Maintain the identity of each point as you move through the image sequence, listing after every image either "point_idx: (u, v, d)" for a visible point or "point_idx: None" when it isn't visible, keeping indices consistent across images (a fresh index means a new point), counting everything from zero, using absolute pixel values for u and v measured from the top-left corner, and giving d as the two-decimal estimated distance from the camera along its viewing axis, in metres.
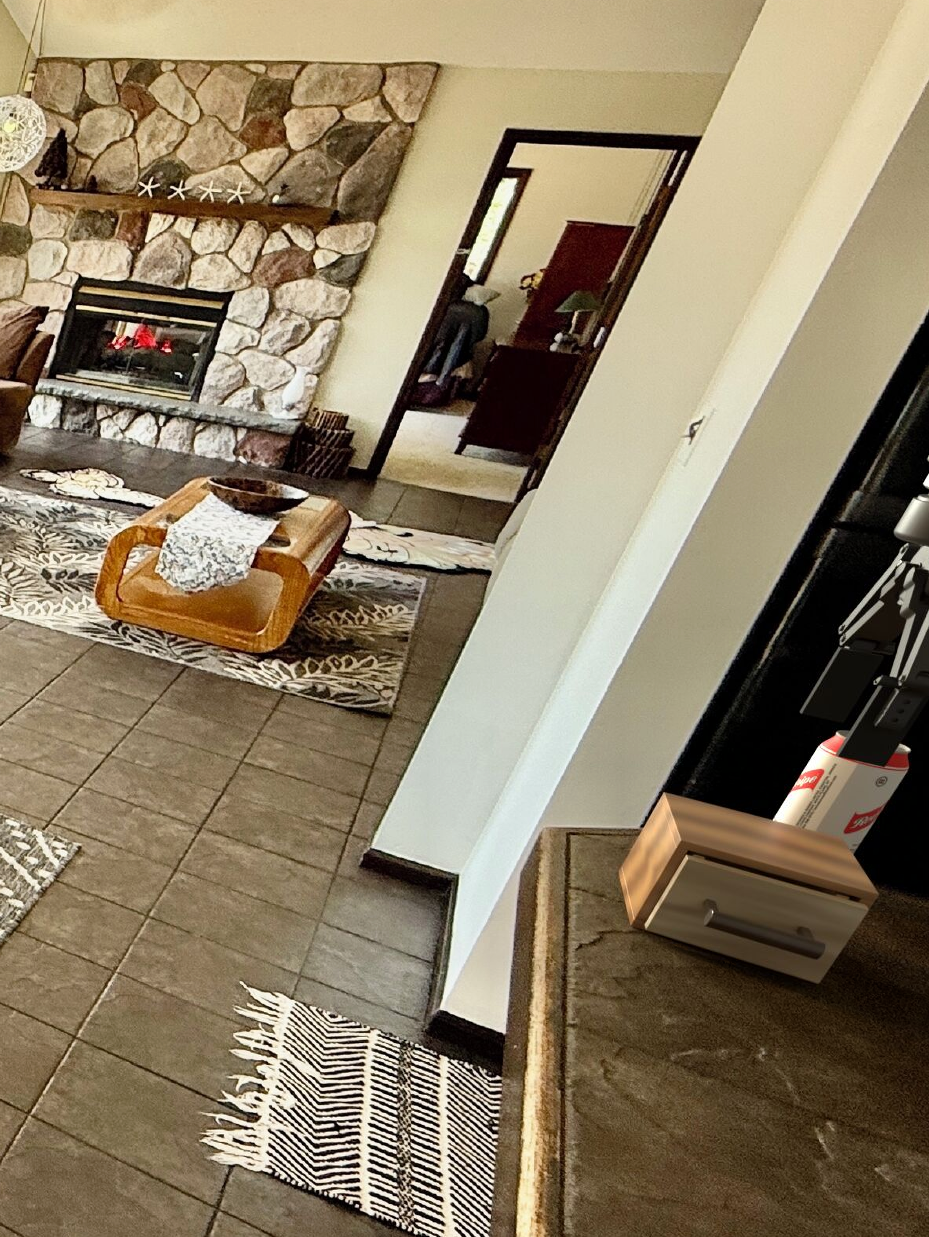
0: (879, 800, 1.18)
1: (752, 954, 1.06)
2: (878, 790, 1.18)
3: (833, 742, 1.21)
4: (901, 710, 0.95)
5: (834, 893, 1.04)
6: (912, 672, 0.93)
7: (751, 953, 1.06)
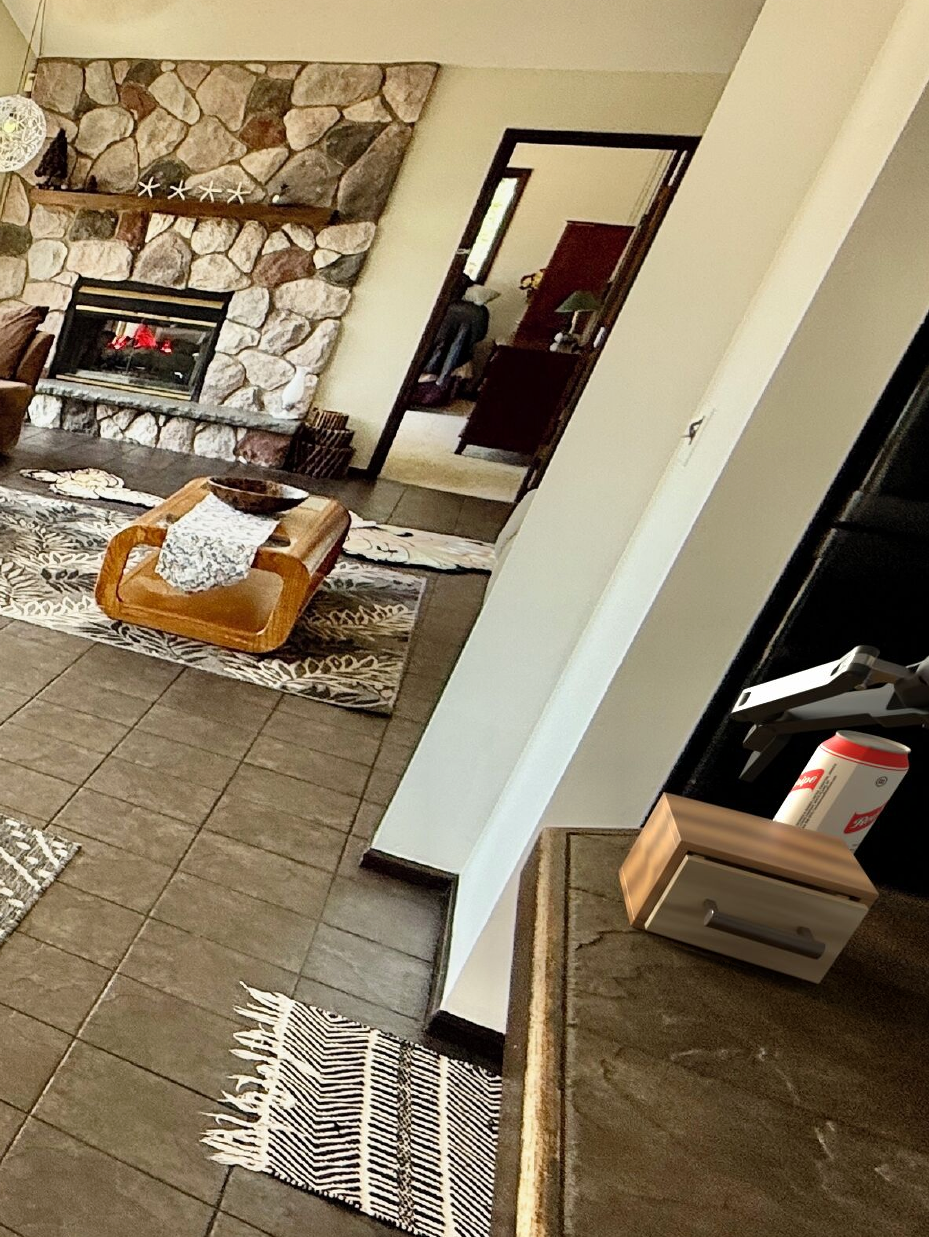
0: (879, 800, 1.18)
1: (752, 954, 1.06)
2: (878, 790, 1.18)
3: (833, 742, 1.21)
4: None
5: (834, 893, 1.04)
6: None
7: (751, 953, 1.06)
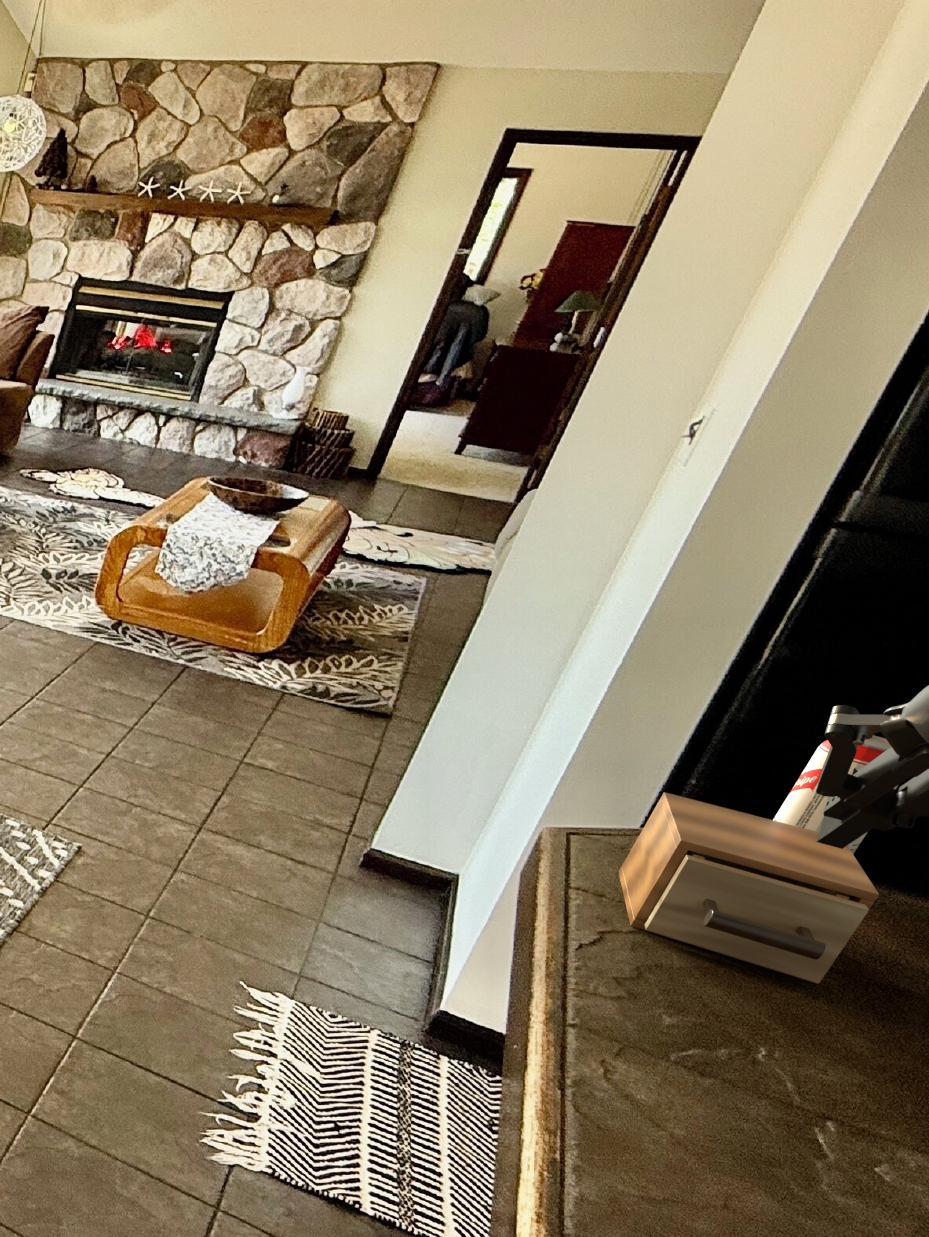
0: None
1: (752, 954, 1.06)
2: None
3: None
4: None
5: (834, 893, 1.04)
6: None
7: (751, 953, 1.06)
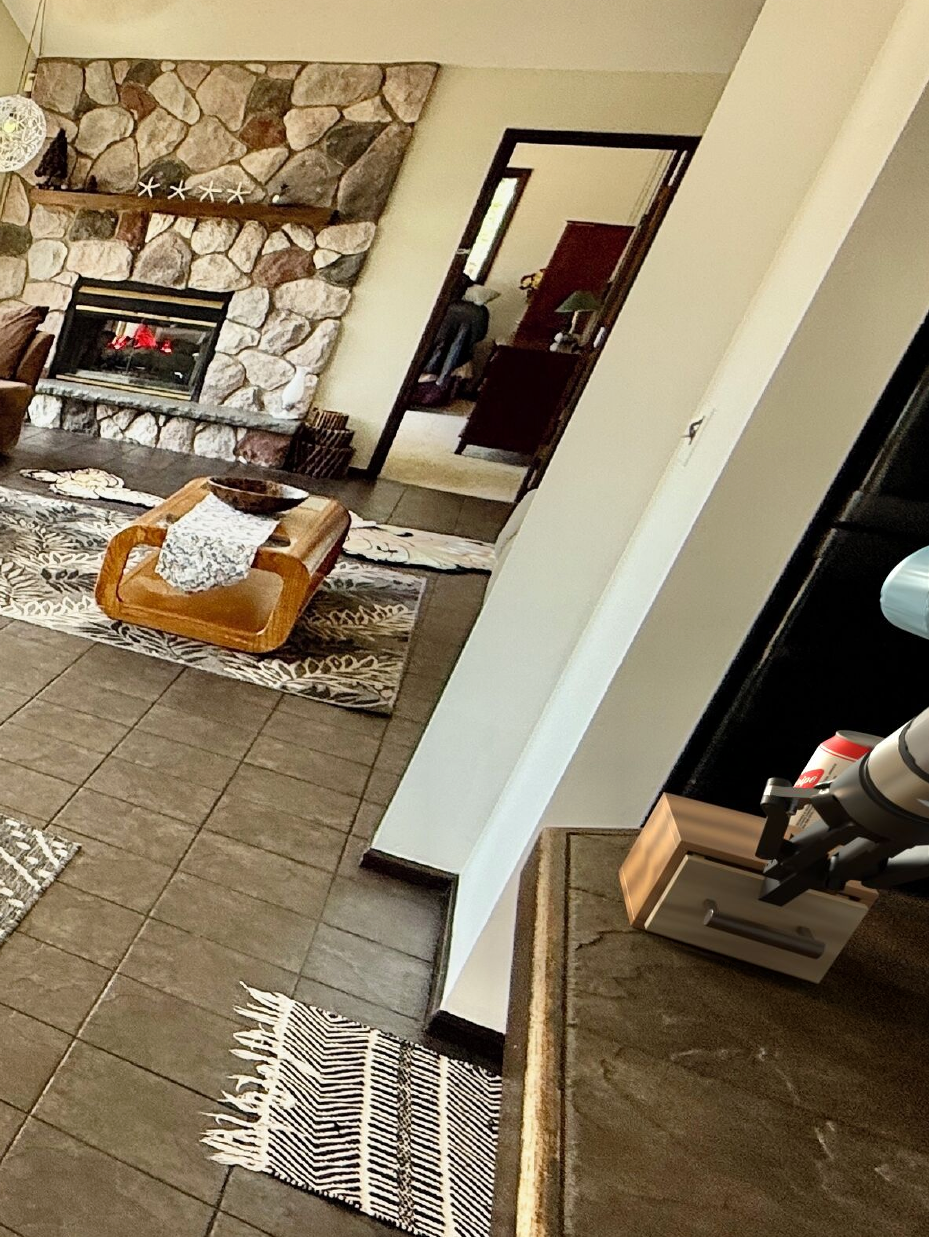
0: None
1: (752, 954, 1.06)
2: None
3: (833, 742, 1.21)
4: None
5: (834, 893, 1.04)
6: None
7: (751, 953, 1.06)
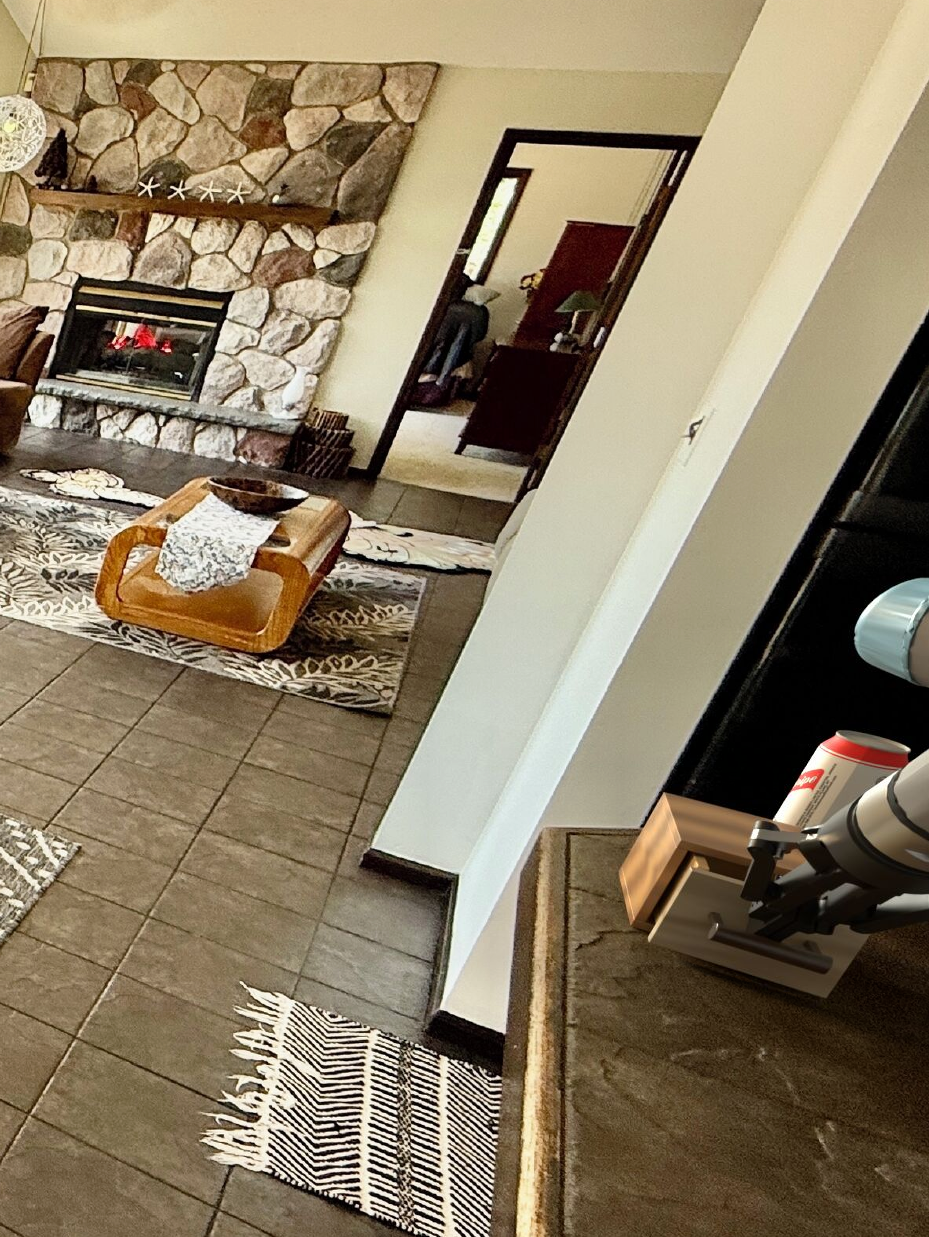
0: None
1: (758, 968, 1.04)
2: None
3: (833, 742, 1.21)
4: None
5: None
6: (876, 931, 0.94)
7: (757, 967, 1.04)
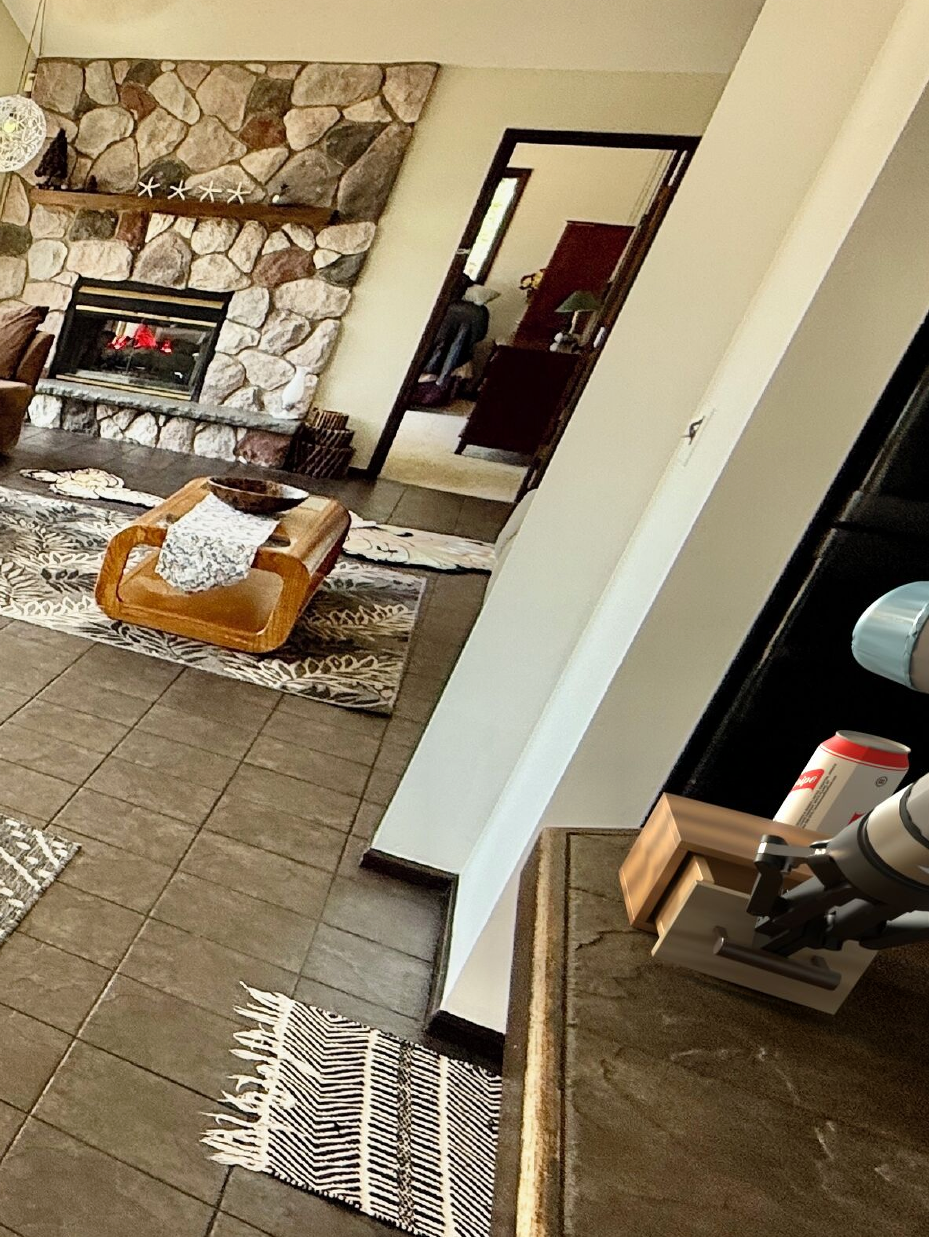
0: (879, 800, 1.18)
1: (764, 983, 1.02)
2: (878, 790, 1.18)
3: (833, 742, 1.21)
4: None
5: None
6: None
7: (763, 982, 1.02)
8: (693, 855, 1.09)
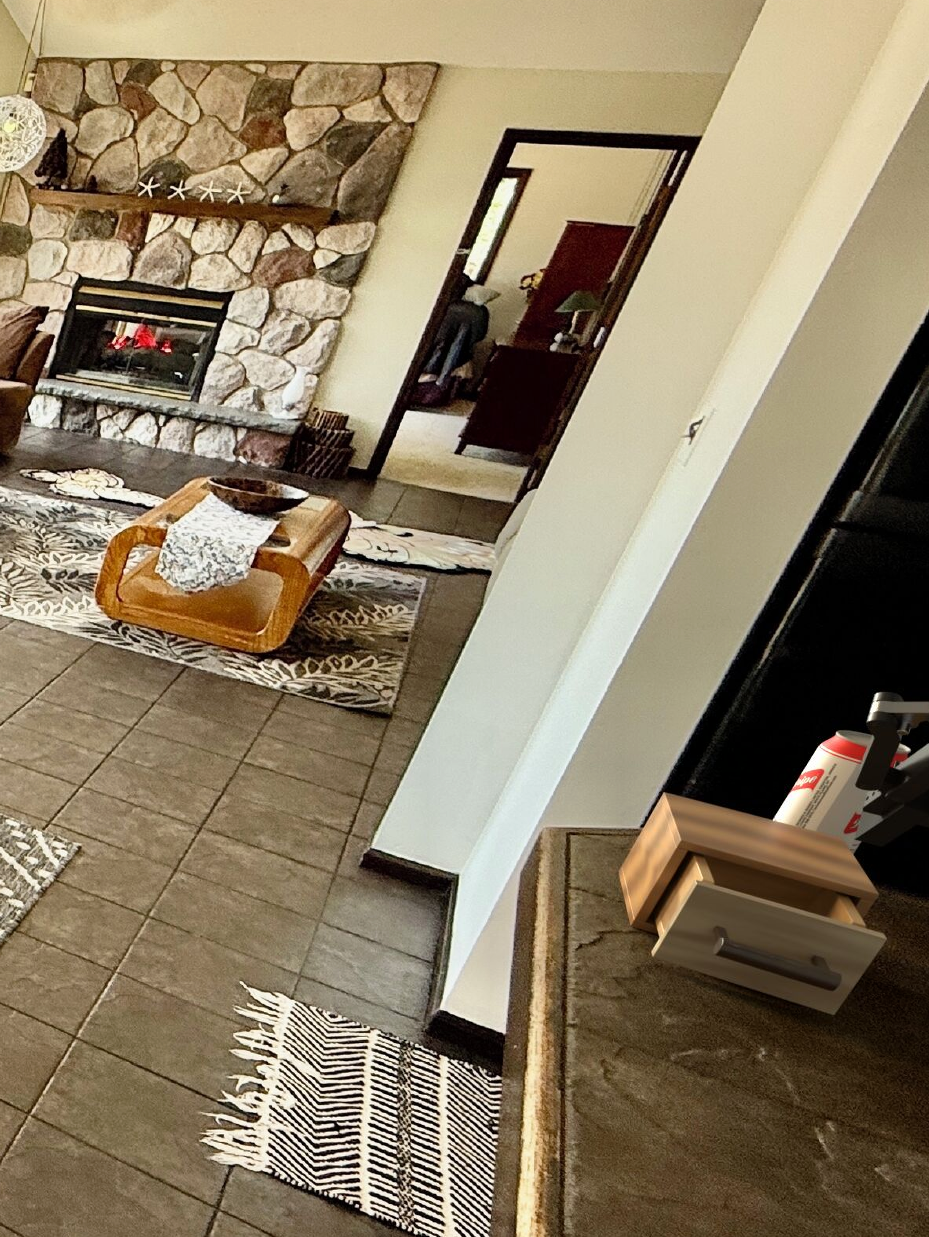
0: None
1: (764, 984, 1.02)
2: None
3: (833, 742, 1.21)
4: None
5: (850, 921, 0.99)
6: None
7: (763, 983, 1.02)
8: (693, 855, 1.09)
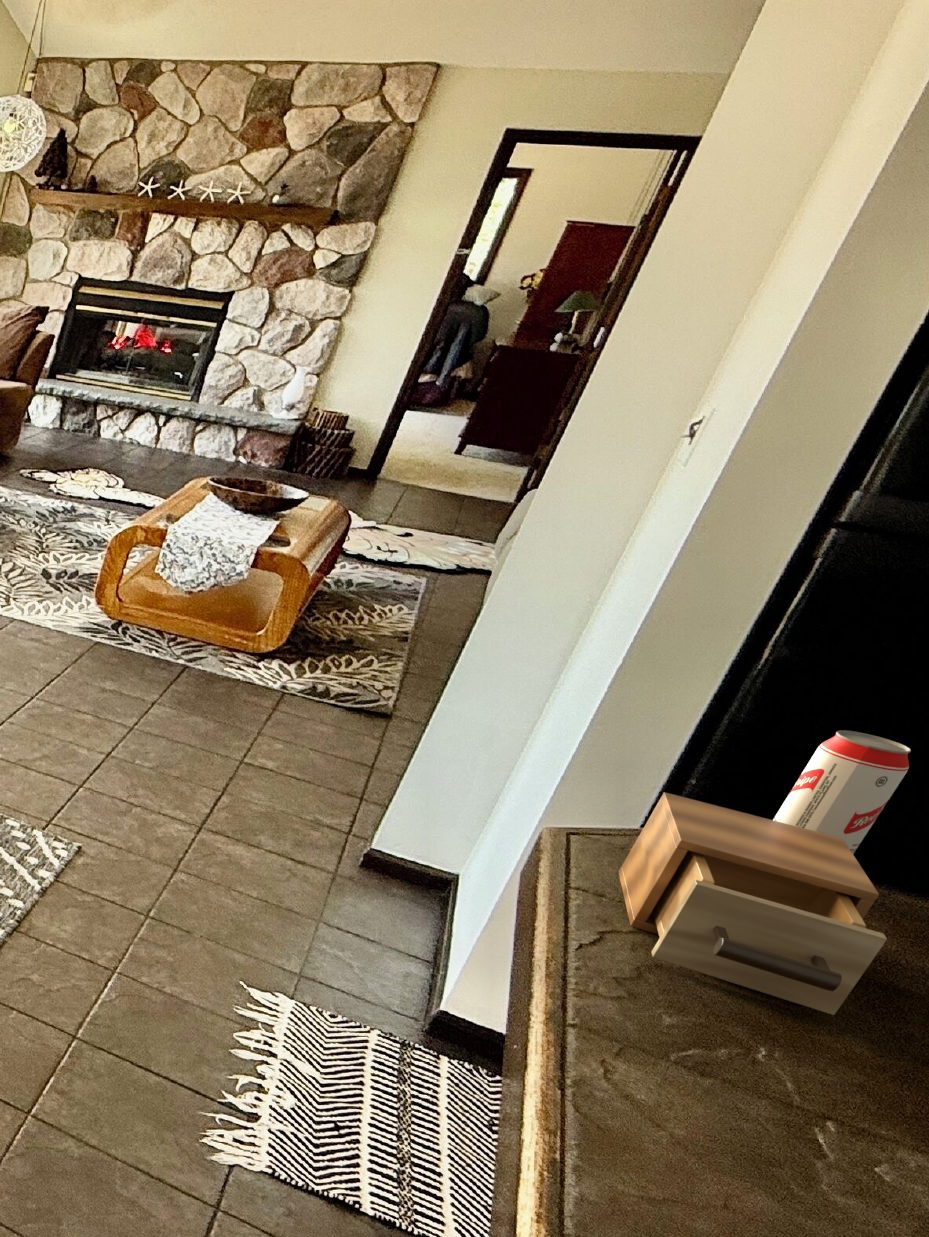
0: (879, 800, 1.18)
1: (764, 984, 1.02)
2: (878, 790, 1.18)
3: (833, 742, 1.21)
4: None
5: (850, 921, 0.99)
6: None
7: (763, 983, 1.02)
8: (693, 855, 1.09)
